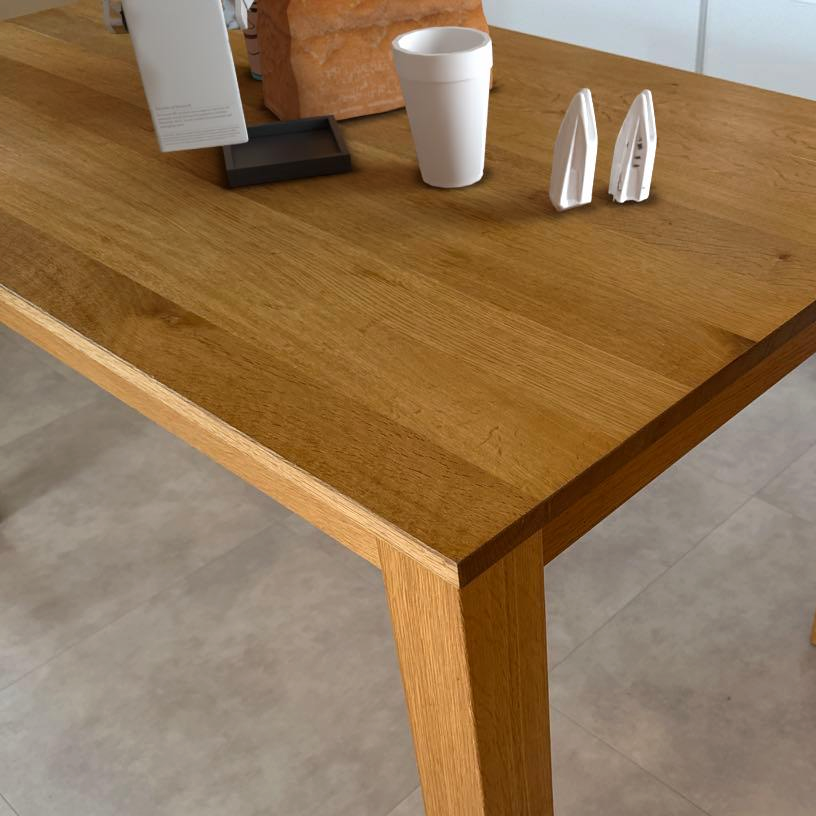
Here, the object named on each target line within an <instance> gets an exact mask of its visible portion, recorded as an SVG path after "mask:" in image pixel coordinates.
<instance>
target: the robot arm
mask: <svg viewBox="0 0 816 816" xmlns="http://www.w3.org/2000/svg"><path fill="white" fill-rule="evenodd" d="M253 1H254V0H222V8H223V14H224V19H225V23H226V27H227V30H228V31H235V30H243V29H247V28H248V26H247V10H249V8H250V6H251V5H252V3H253ZM99 2H100V3H101V5H102V20H103V24H104V27H105V29H106V30H107V31H108V33H109V34H110V35H126V34H127V35H128V34H129V30H128V26H127V23H126V19H125V15H124V11H123V7H122V3H121V1H111V0H99ZM129 35H130V34H129Z"/></svg>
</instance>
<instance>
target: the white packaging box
mask: <svg viewBox="0 0 816 816" xmlns="http://www.w3.org/2000/svg"><path fill="white" fill-rule="evenodd" d="M120 2H121V3H122V7H123V11H124V15H125V19H126V23H127V26H128V30H129V37H130V41H131V46H132V48H133V53H134V55H135V56H134V57H135V60H136V65H137V67H138V71H139V76H140V79H141V84H142V87H143V92H144V94H145V98H146V102H147V106H148V109H149V114H150V117H151V121H152V125H153V129H154V132H155V136H156V141H157V144H158V150H159V152H160V153H170V152H179V151H188V150H196V149H207V148H212V147H213V148H214V147H223V145H232V144H240V143H246V142H247V141H248V135H247V130H246V125H247V124H246V119H245V114H244V109H243V104H242V98H241V94H240V89H239V83H238V79H237V73H236V67H235V62H234V59H233V58H234V57H233V53H232V48H231V42H230V37H229V33H228V28H227V25H226V23H225V19H224V14H223V11H224V7H223V2H222V0H120Z"/></svg>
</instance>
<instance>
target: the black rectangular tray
mask: <svg viewBox="0 0 816 816" xmlns="http://www.w3.org/2000/svg"><path fill="white" fill-rule="evenodd" d="M246 130H247V135H248V141H247V142H246V143H240V144H232V145H223V146H222V150H223V157H224V163H225V169H226V174H227V178H228V182H229V188H236V187H243V186H251V185H259V184H266V183H273V182H280V181H289V180H296V179H297V180H298V179H303V178H310V177H319V176H326V175H333V174H340V173H341V174H342V173H348V172H353V167H352V158H351V153H350V151H349V149H348V146H347V144H346V141H345V139H344V136H343V134H342V132H341V129H340V127H339V124H338V121H336V119H335V117H334V115H327V116H318V117H310V118H301V119H293V120H285V121H281V120H277V121H270V122H261V123H253V124H246Z"/></svg>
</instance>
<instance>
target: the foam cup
mask: <svg viewBox="0 0 816 816" xmlns="http://www.w3.org/2000/svg"><path fill="white" fill-rule="evenodd" d="M489 36H490V34H489V35H488V34H487V33H485V32H482V31H480V30H477V29H474V28H465V27H455V26H452V27H431V28H424V29H418V30H413V31H410V32H407V33H404V34H402V35H399V36H397V37H396V38H395V39H394V40H393V41H392V50H393V59H394V68H395V70H396V72H397V75H398V76H399V81H400V85H401V89H402V94H403V98H404V102H405V107H404V108H405V111H406V115H407V120H408V123H409V128H410V132H411V137H412V142H413V145H414V149H415V154H416V157H417V162H418V166H419V171H420V173H421V179H422V181H423V182H424V183H426V184H428V185H429V186H431V187H438V188H443V189H448V188H449V189H453V188H461V187H467V186H470V185H473V184H475V183H477V182H479V181H480V180H481V179H482V177H483V175H484V171H483V170H484V169H485V156H486V155H485V153H486V139H487V138H486V137H487V123H488V111H489V95H490V89H489V82H490V68H491V67H492V68H493V65H494V64H493V63H494V62H493V44H492V43H493V42H492V38H491V36H490V37H489Z"/></svg>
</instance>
